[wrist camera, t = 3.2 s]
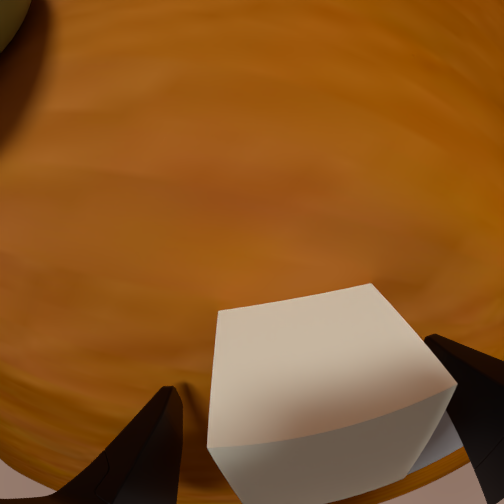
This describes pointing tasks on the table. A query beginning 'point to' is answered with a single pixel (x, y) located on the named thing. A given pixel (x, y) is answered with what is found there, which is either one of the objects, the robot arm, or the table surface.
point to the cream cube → (321, 397)
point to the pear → (11, 19)
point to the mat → (439, 444)
